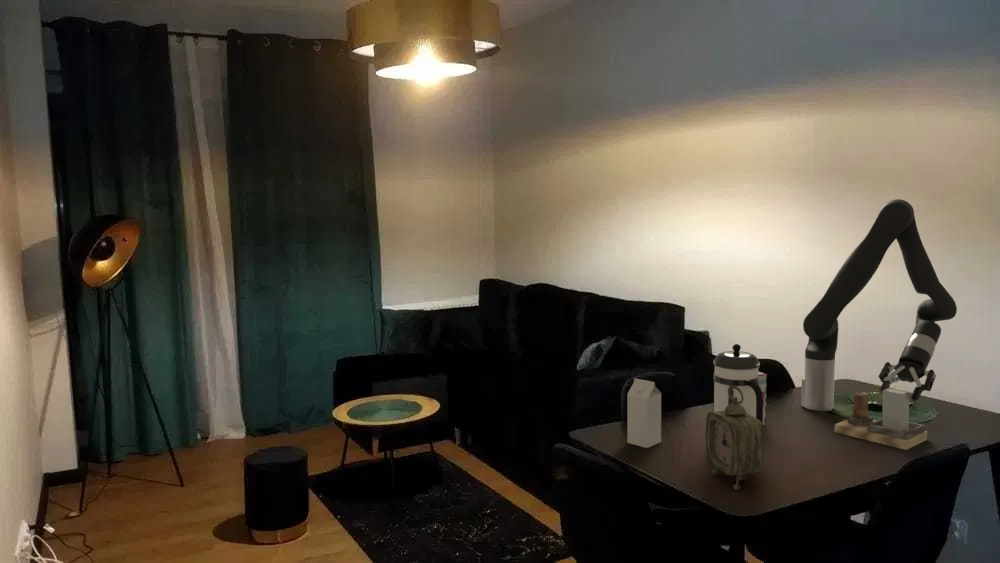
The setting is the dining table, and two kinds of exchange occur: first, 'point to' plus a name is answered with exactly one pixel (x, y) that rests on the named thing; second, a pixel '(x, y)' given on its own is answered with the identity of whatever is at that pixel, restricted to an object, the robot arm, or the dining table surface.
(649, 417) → the milk carton
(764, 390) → the candy bar box
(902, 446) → the wooden board
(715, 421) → the tabletop clock
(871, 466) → the dining table surface
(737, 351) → the coffee press
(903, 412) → the skincare box
